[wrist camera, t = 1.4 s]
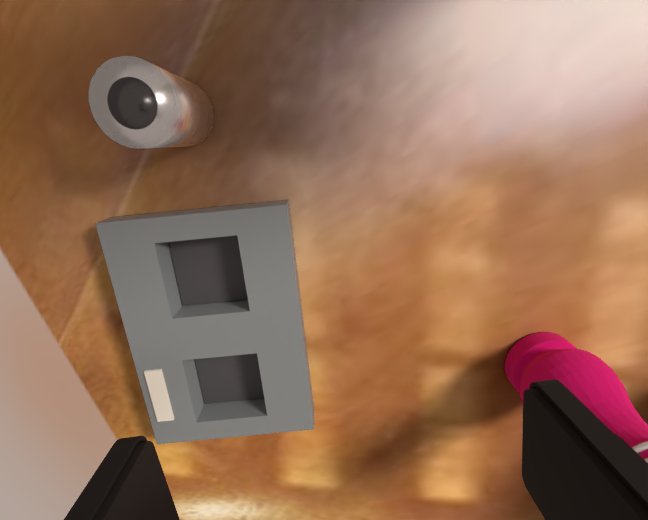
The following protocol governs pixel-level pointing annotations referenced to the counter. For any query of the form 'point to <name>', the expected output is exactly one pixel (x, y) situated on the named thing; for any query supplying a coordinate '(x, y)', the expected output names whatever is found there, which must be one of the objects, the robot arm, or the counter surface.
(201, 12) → the counter surface
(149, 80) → the bushing
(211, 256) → the block
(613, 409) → the pepper mill
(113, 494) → the robot arm
